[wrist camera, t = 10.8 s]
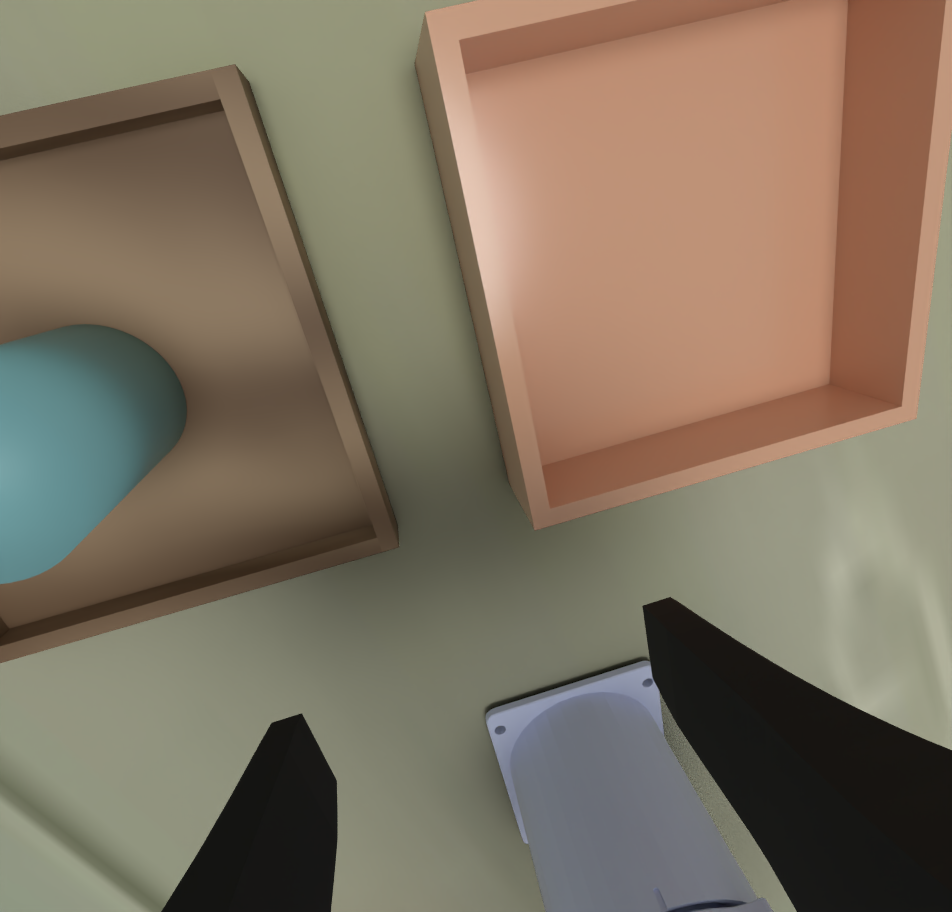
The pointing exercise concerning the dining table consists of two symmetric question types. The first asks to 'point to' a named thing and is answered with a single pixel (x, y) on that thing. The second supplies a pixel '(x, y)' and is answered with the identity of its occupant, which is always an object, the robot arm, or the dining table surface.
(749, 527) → the dining table surface
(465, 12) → the pink storage bin
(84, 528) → the teal cylinder
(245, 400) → the tray
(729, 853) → the robot arm
